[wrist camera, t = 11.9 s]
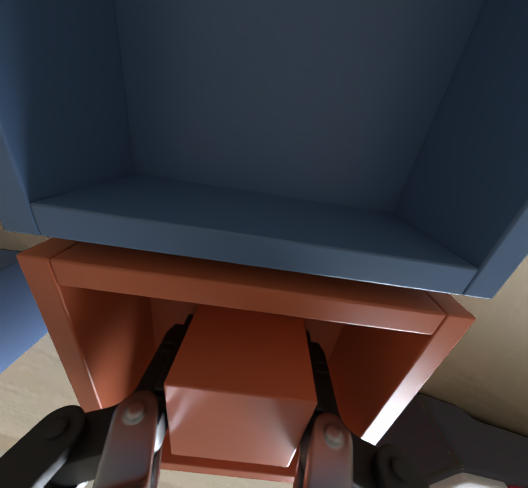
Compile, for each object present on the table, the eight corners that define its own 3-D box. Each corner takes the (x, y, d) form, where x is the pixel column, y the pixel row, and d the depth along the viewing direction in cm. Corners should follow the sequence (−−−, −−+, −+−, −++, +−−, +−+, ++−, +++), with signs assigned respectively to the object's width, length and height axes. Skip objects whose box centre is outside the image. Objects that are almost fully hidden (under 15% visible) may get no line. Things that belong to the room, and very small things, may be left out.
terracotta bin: (151, 371, 14) (103, 463, 10) (126, 202, 9) (12, 254, 5) (322, 392, 15) (340, 488, 11) (391, 241, 10) (478, 318, 6)
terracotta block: (204, 349, 12) (170, 454, 8) (206, 285, 10) (162, 384, 6) (283, 359, 13) (288, 468, 8) (300, 298, 11) (318, 403, 6)
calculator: (481, 557, 18) (336, 540, 15) (443, 483, 22) (321, 456, 18) (634, 524, 14) (476, 489, 10) (552, 438, 17) (418, 391, 14)
